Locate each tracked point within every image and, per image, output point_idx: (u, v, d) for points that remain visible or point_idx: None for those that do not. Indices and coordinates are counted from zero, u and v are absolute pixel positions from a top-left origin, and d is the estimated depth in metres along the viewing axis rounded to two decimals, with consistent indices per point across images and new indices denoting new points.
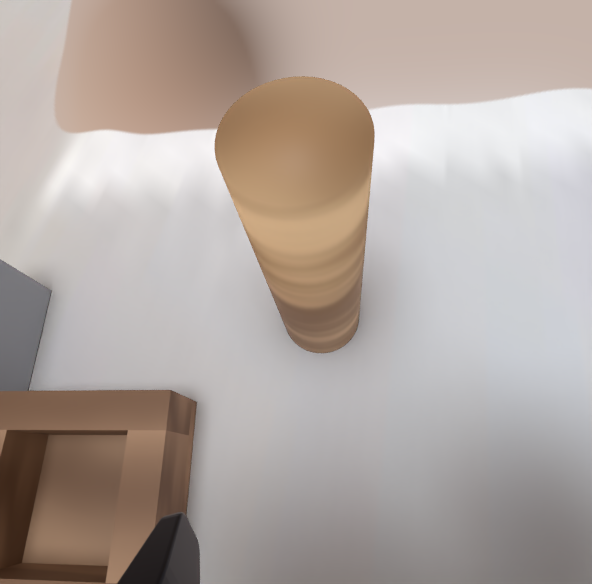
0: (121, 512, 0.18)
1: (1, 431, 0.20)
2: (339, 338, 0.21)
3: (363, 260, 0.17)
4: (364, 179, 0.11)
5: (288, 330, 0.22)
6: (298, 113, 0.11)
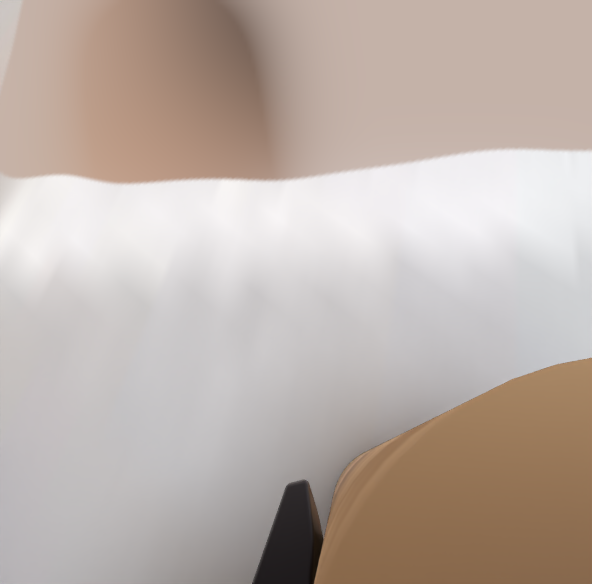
0: None
1: None
2: None
3: None
4: None
5: None
6: None
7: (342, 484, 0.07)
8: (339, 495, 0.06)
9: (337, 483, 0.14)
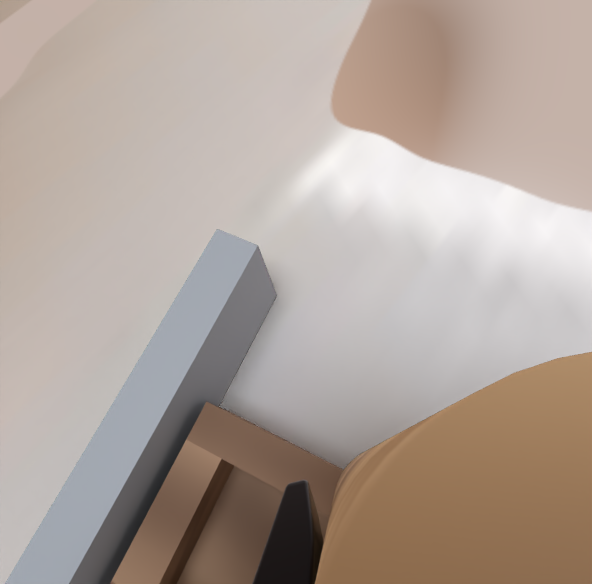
0: None
1: (215, 457, 0.18)
2: None
3: None
4: None
5: None
6: None
7: (343, 482, 0.08)
8: (340, 492, 0.06)
9: (338, 482, 0.14)
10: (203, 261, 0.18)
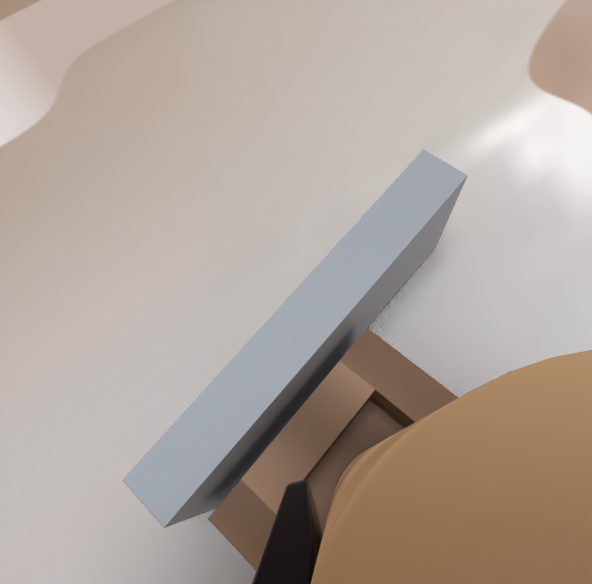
0: None
1: (369, 386, 0.17)
2: None
3: None
4: None
5: None
6: None
7: (341, 481, 0.08)
8: (338, 492, 0.06)
9: None
10: (404, 179, 0.17)
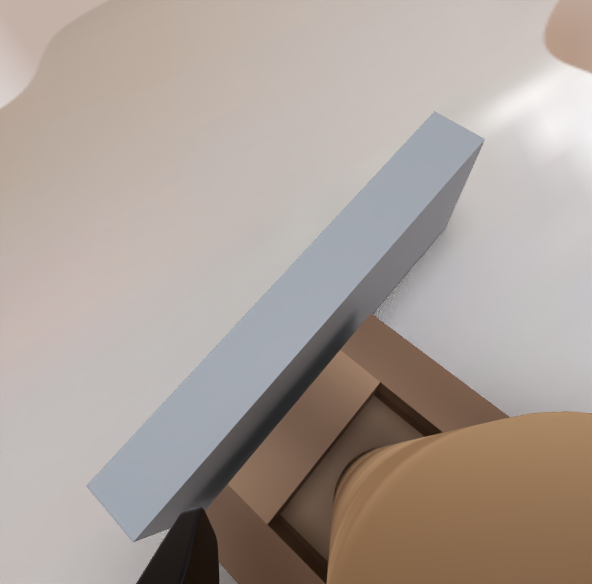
0: None
1: (373, 379, 0.15)
2: None
3: None
4: None
5: None
6: None
7: (345, 486, 0.09)
8: (344, 498, 0.07)
9: (338, 481, 0.15)
10: (413, 144, 0.15)
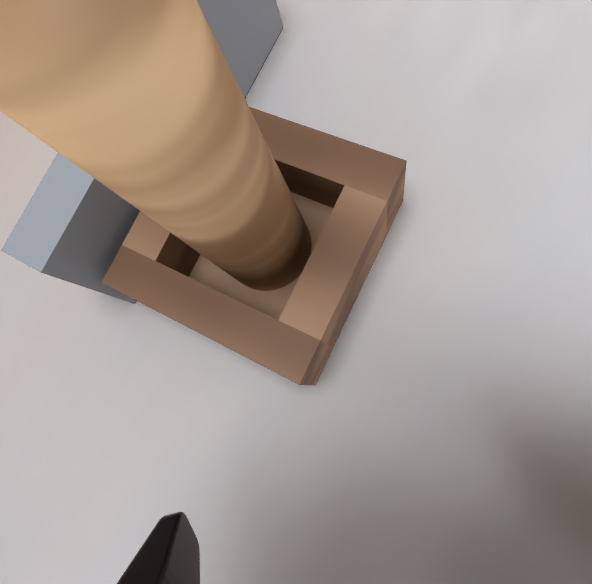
0: (314, 263, 0.16)
1: None
2: (287, 267, 0.18)
3: (266, 157, 0.12)
4: (160, 1, 0.07)
5: None
6: None
7: None
8: None
9: None
10: None
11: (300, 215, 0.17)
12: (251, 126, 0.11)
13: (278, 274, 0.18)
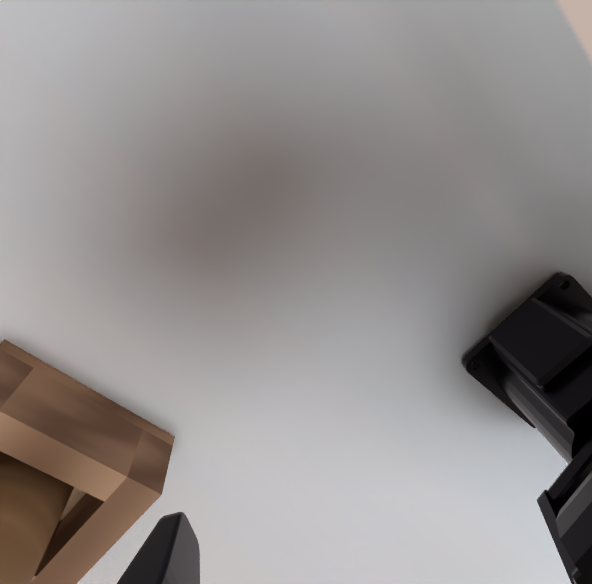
0: (55, 472, 0.18)
1: None
2: None
3: None
4: None
5: None
6: None
7: None
8: None
9: None
10: None
11: (5, 467, 0.18)
12: None
13: None
